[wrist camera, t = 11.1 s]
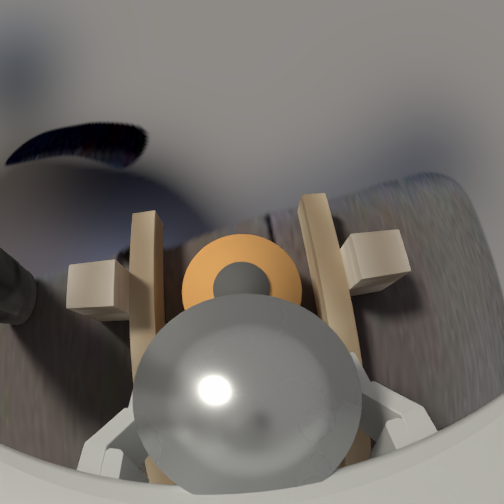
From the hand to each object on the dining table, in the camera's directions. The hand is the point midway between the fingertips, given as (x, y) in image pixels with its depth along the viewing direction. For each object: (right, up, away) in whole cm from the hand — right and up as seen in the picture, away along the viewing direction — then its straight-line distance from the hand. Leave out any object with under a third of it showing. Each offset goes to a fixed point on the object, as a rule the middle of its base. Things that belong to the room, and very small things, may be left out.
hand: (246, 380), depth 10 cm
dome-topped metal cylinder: (0, -3, +4) cm, 6 cm away
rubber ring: (0, +2, +7) cm, 8 cm away
